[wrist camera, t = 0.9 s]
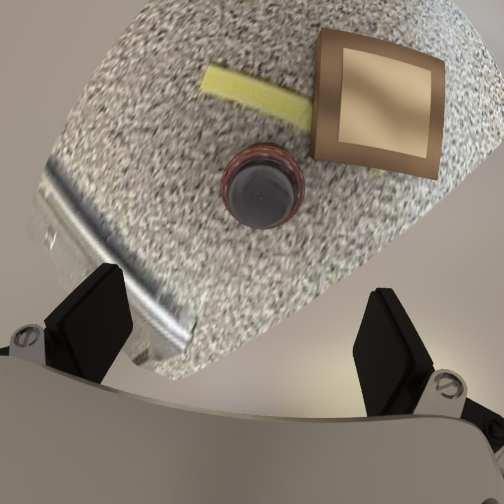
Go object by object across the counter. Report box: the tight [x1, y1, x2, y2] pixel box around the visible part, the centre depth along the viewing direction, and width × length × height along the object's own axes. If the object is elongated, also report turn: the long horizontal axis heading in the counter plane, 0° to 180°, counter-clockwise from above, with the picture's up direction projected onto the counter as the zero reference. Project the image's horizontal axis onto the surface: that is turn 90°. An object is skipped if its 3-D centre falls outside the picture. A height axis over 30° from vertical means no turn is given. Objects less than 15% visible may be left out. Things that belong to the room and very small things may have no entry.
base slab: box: [309, 28, 445, 181], centre depth 21 cm, size 12×12×4 cm
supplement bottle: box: [221, 143, 305, 229], centre depth 22 cm, size 6×6×11 cm
